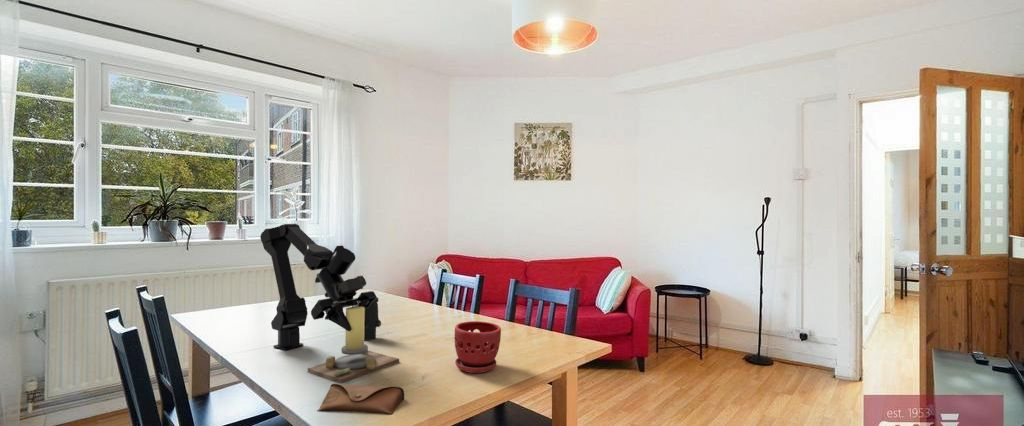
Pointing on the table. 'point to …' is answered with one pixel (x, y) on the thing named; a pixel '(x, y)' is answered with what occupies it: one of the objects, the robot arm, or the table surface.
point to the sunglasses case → (362, 399)
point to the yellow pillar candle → (355, 332)
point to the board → (352, 366)
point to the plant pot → (476, 346)
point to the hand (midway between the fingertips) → (358, 328)
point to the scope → (372, 321)
